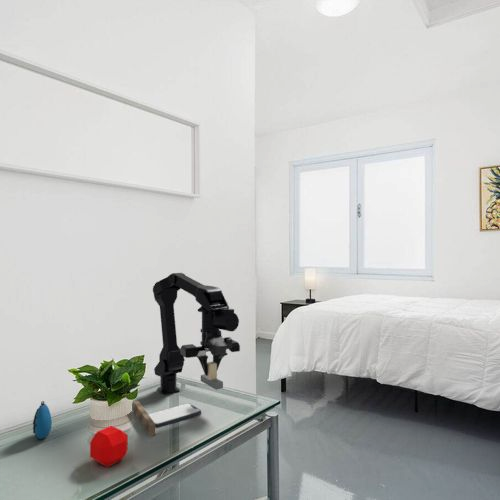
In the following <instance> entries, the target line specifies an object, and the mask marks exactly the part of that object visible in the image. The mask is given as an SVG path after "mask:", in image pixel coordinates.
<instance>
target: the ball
mask: <svg viewBox="0 0 500 500" xmlns="http://www.w3.org/2000/svg"><path fill="white" fill-rule="evenodd" d="M128 436H129V435H128V434H126V432H125V431H122V430H121V429H119V428H117V427H116V426H113V425H110V426H108V427H105V428H103V429H100V430H98V431H96V433H95V434H94V435H93V437H92V438H91V440H90V443H89V446H90V447H89V451H90V453H89V454H90V456H89V457H90V458H91V459H93V460H94V461H96V462H97V463H99V464H100V465H103V466H105V467H106V466H107V468H108V467H110V466H112V464H113V465H114V463H115V464H117V463H119V462H121V461H122V460H123V459H124V458H125V456H126V455H127V453H128V450H129V447H128V444H129V439H128V438H129V437H128Z"/></svg>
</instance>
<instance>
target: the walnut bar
mask: <svg viewBox="0 0 500 500" xmlns="http://www.w3.org/2000/svg"><path fill="white" fill-rule="evenodd" d="M133 413H134V414H135V415H136V417H137V419H138V420H139V421H140V423H141V425H142V426H143V427H144V429H145V430H146V432H147V434H148V435H149V436H150V437H152V436H155V435H156V427H155V423H154V422H153V420H152V419H151V417H150V416H149V415H148V414H149V413H148V412H147V410H146V409H145V408H144V406H143V405H142V404H141V403H140V400H135V401H133Z"/></svg>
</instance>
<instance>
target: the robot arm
mask: <svg viewBox="0 0 500 500" xmlns="http://www.w3.org/2000/svg"><path fill="white" fill-rule="evenodd" d="M180 290H183V291H185V292H187V294H189V295H191V296H194V298H195V301H196V303H198V304H199V305H200V307H199V308H197V312H198V313H201V328H200V333H201V341H199V342H200V346H197V345H194V344H192V343H191V344H183V345H181V346H180V347H179V346H178V340H177V339H178V338H177V337H178V336H177V329H176V320H175V319H176V318H175V303H176V301H177V299H178V291H180ZM152 292H153V297H154V301H155V302H156V304H157V305H158V306H159V314H160V324H161V325H160V326H161V336H162V348H161V351H160V353H159V362H157V364H156V365H155V367H154V369H153V371H154V375H155V376H156V377H160V379H159V380H160V386H159V387H157V391H158V392H160V393H161V395H167V394H172V393H177V392H180V391H181V390H180V389H179V388H178V387H177V374H179V373H182V371H183V368H184V364H185V359H186V358H187V359H191V358H197V359H198V360H199V363H200V365H201V368H202V370H203V373H204V374H205V375H206V376H207V373H208V369H207V363H208V358H209V356H208V355H207V352H210V354H211V355H212V362H215V363H217V371H218V370H219V367H220V365H221V362H222V359H223V358H224V357H225V356H228V352H227V350H229V351H230V352H231V353H236V352H241V345H240V343H239V342H238V341H236V340H234V339H233V338H232V337H231V336H227V337H226V336H225V337H223V336H222V331H227V332H235V331H236V330H237V329H238V327H239V324H240V319H239V317H238V314H237V313H235V309H234V308H230V306H229V304H228V302H227V300H226V298H225V296H224V294H223V291H222V289H221V288H219V287H217V286H212V285H207V284H206V285H205V284H203V283H200V282H199V281H197V280H195V279H193V278H192V277H189V276H188V275H186V274H185V273H183V272H173V273H170V274H169V275H167V276H166V277H165V278H163V279H160V280H159V281H156V282H155V283H154V285H153V286H152Z"/></svg>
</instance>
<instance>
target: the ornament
mask: <svg viewBox="0 0 500 500" xmlns="http://www.w3.org/2000/svg"><path fill="white" fill-rule="evenodd" d="M52 423H53V421H52V414H51V411H50V409H49V406H48V405H47V404H46V403H45V401H43V400H42V401H41V403H40V405H39V406H38V408H37V409H36V412H35V413H34V417H33V422H32V425H33V426H32V430H33V434H34V437H35V438H38V440H43V439H45V438H47V436H49V434H50V433H51V430H52V426H53V425H52Z"/></svg>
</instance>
